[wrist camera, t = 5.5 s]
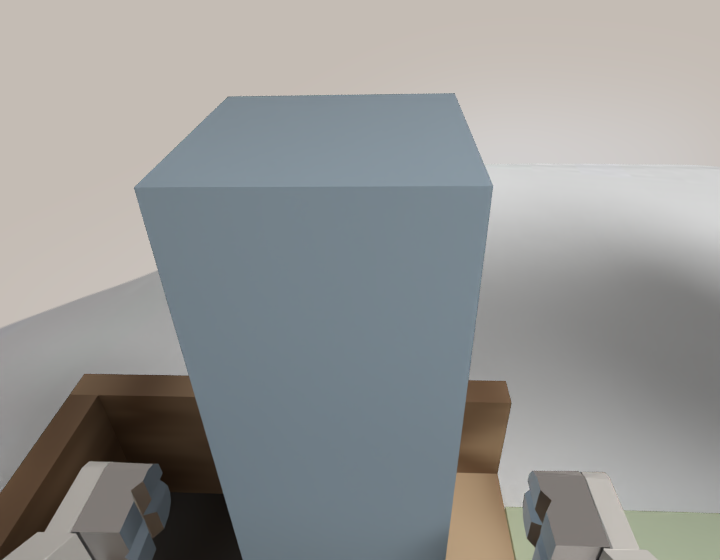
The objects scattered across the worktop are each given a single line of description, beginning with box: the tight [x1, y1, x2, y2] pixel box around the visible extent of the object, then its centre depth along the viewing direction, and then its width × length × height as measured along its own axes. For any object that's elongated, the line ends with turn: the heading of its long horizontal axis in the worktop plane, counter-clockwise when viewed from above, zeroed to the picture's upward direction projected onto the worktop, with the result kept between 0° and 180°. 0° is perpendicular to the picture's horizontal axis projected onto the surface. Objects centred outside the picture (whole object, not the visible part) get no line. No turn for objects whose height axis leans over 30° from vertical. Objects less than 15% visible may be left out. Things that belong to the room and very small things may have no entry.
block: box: [134, 93, 493, 560], centre depth 14 cm, size 5×5×17 cm
